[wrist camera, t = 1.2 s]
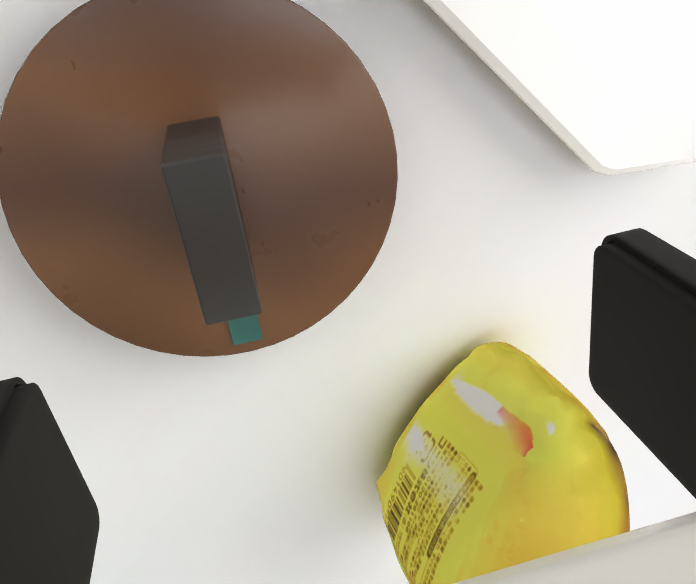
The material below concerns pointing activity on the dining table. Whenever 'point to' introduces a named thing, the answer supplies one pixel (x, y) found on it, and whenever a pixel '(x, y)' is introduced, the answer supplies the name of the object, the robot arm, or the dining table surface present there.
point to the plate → (594, 72)
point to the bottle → (499, 472)
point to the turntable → (197, 170)
